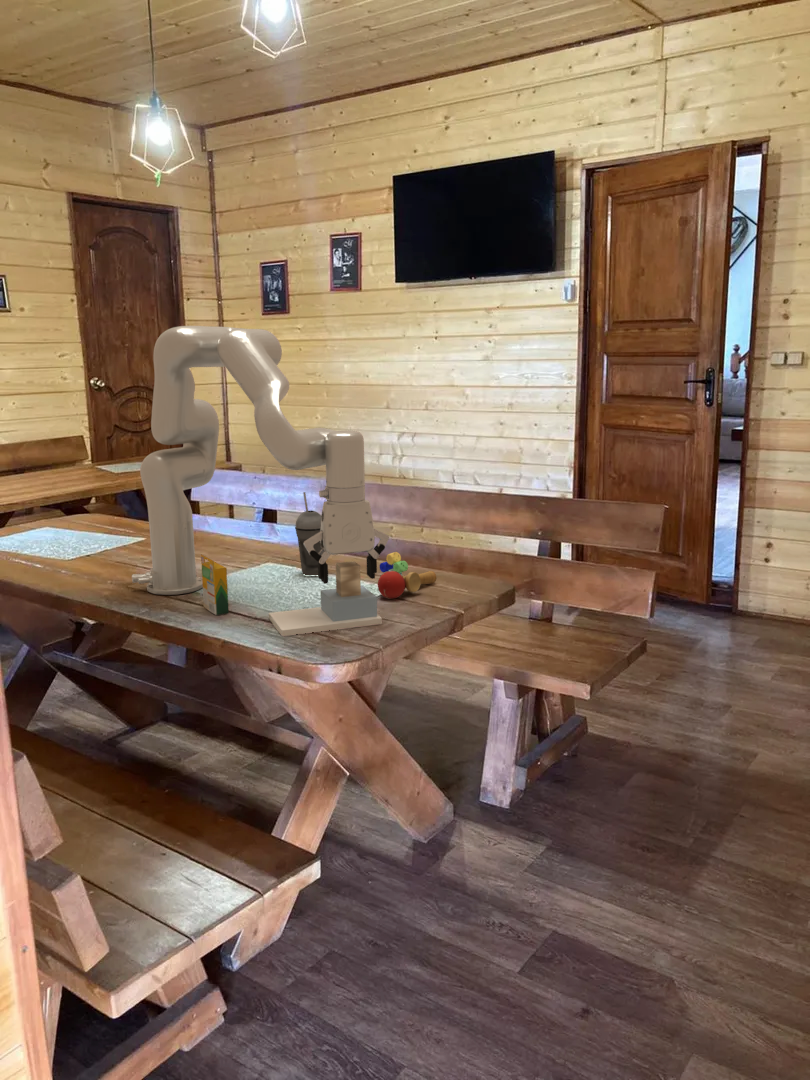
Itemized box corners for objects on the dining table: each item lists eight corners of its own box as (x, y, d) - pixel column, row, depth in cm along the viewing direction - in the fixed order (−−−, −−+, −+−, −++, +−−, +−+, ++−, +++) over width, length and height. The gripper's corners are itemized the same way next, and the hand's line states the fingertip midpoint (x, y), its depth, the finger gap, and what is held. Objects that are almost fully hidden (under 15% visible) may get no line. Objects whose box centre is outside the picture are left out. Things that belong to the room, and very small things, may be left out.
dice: (378, 576, 208) (378, 550, 207) (387, 574, 210) (386, 548, 208) (400, 582, 202) (400, 555, 201) (409, 580, 204) (409, 553, 203)
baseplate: (282, 636, 165) (281, 610, 164) (269, 618, 176) (267, 593, 175) (382, 623, 172) (381, 598, 171) (363, 607, 183) (362, 583, 182)
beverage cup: (322, 578, 206) (319, 495, 202) (292, 577, 208) (289, 494, 203) (330, 571, 213) (328, 490, 209) (302, 570, 214) (299, 489, 210)
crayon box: (229, 613, 180) (226, 558, 178) (215, 615, 178) (212, 560, 176) (216, 605, 186) (213, 552, 184) (203, 607, 184) (199, 553, 182)
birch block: (341, 597, 172) (340, 567, 171) (336, 591, 176) (335, 562, 175) (360, 595, 173) (360, 565, 172) (355, 589, 177) (354, 561, 176)
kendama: (414, 586, 204) (366, 593, 190) (420, 560, 203) (372, 565, 189) (440, 597, 200) (393, 604, 186) (447, 570, 199) (400, 576, 184)
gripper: (307, 500, 164) (310, 588, 168) (393, 494, 170) (395, 579, 174) (297, 494, 171) (300, 579, 174) (381, 489, 177) (382, 571, 180)
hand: (347, 579), depth 174 cm, fingers open, 9 cm apart
